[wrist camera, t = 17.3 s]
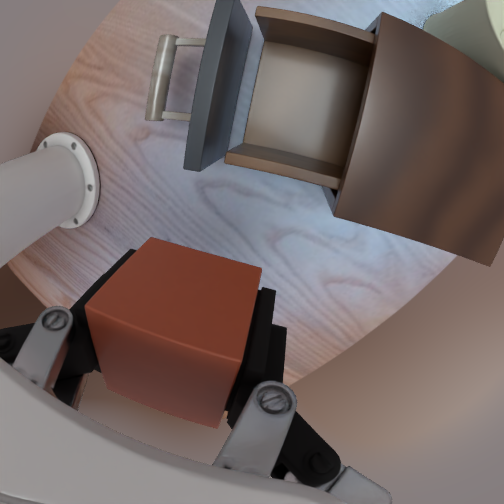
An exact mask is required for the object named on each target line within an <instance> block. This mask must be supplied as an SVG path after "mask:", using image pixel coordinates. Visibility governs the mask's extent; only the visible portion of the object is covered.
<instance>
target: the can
mask: <svg viewBox="0 0 504 504" xmlns="http://www.w3.org/2000/svg"><path fill="white" fill-rule="evenodd" d="M423 30H424V31H426V32H428V33H430V34H431V35H433V36H435V37H437V38H439V39H440V40H442V41H444V42H446V43H447V44H449V45H451V46H452V47H454V48H456V49H457V50H459V51H460V52H462V53H463V54H465V55H467V56H468V57H469V58H471V59H472V60H474V61H475V62H477V63H478V64H480V65H481V66H482V67H484V68H485V69H486V70H488V71H489V72H490V73H492V74H493V75H494V76H495V77H497V78H498V79H499V80H500V81H502V82H503V83H504V0H464V1H462V2H460V3H458V4H456V5H454V6H452V7H450V8H448V9H446V10H444V11H442V12H440V13H437V14H434V15H432V16H430V17H429V18H428V19H427V20H426V22H425V24H424V27H423Z"/></svg>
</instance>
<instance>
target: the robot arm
mask: <svg viewBox="0 0 504 504" xmlns="http://www.w3.org/2000/svg"><path fill="white" fill-rule="evenodd" d="M99 186H100V183H99V174H98V170H97V165H96V162H95V160H94V157H93V155H92V153H91V151H90V149H89V148H88V146H87V145H86V144H85V143H84V141H83V140H82V139H80V138H79V137H78V136H76V135H74V134H72V133H69V132H59V133H55V134H52V135H50V136H48V137H46V138H45V139H44V140H43V141H42V142H41V144H40V145H39V147H38V148H37V151H36V152H32V153H29V154H26V155H24V156H21V157H18V158H15V159H12V160H10V161H7V162H4V163H2V164H0V268H1V267H2V266H3V265H4V264H6V263H7V262H8V261H9V260H11V259H12V258H13V257H15V256H16V255H17V254H19V253H20V252H21V251H23V250H24V249H25V248H27V247H28V246H29V245H31V244H32V243H34V242H35V241H36V240H38V239H39V238H41V237H42V236H44V235H45V234H46V233H48V232H49V231H51V230H52V229H54V228H55V227H57V226H60V227H62V228H67V229H72V228H77V227H79V226H81V225H82V224H84V223H85V222H87V221H88V220H89V218H90V217H91V216H92V214H93V213H94V211H95V209H96V206H97V203H98V198H99ZM136 251H137V250H134V249H130V250H129V251H128V252H127V253H126V254H125V255H124V256H122V257H121V258H120V259H119V260H118V261H117V262H116V263H115V264H114V265H113V266H112V267H111V268H110V269H109V270H108V271H107V272H106V273H105V274H103V275H102V276H101V277H100V278H99V279H98V280H97V281H96V282H95V283H94V284H93V285H92V286H91V287H90V288H89V289H88V290H87V291H86V292H85V293H84V295H83V296H82V297H81V298H80V299H79V300H78V301H77V302H76V303H75V304H74V305H73V306H72V307H71V309H70V310H69V309H67V308H65V307H63V306H52V307H50V308H47V309H46V310H44V311H43V312H42V313H41V315H40V316H39V318H38V319H37V321H36V323H32V324H26V325H21V326H15V327H9V328H4V329H1V330H0V504H392V497H391V494H390V493H389V492H388V491H387V490H386V489H384V488H383V487H381V486H379V485H378V484H376V483H375V482H373V481H372V480H370V479H368V478H367V477H365V476H364V475H362V474H361V473H359V472H357V471H356V470H355V469H353V468H352V467H350V466H348V467H345V466H344V465H342V464H341V461H340V458H339V456H338V454H337V453H336V452H335V451H334V450H333V449H332V448H331V447H330V446H329V445H328V444H327V443H326V442H325V441H324V440H323V439H322V438H321V437H320V436H319V435H318V434H317V433H316V432H315V431H314V429H312V427H311V426H310V425H309V424H308V423H307V422H306V421H305V420H304V419H303V418H302V417H301V416H300V415H299V414H298V413H297V412H296V407H297V399H296V395H295V394H294V392H293V391H292V390H291V389H290V388H289V387H288V386H287V385H285V384H283V372H284V361H285V348H286V335H287V328H286V327H282V326H278V325H274V324H272V319H273V311H274V303H275V295H276V290H272V289H268V288H265V287H262V289H261V290H258V292H257V296H256V301H255V305H254V310H253V314H252V319H251V323H250V328H249V332H248V337H247V341H246V346H245V350H244V355H243V359H242V363H241V366H240V368H239V371H238V374H237V377H236V380H235V383H234V386H233V388H232V391H231V394H230V397H229V400H228V402H227V405H226V408H225V410H226V411H228V415H227V419H228V421H227V423H228V424H229V426H230V427H231V429H232V431H231V433H230V435H229V436H228V438H227V440H226V442H225V444H224V445H223V447H222V449H221V451H220V452H219V454H218V456H217V458H216V459H215V461H214V463H213V464H212V465H209V464H205V463H201V462H198V461H194V460H191V459H188V458H184V457H181V456H178V455H175V454H172V453H169V452H166V451H163V450H161V449H158V448H155V447H152V446H150V445H147V444H145V443H142V442H140V441H137V440H135V439H133V438H130V437H128V436H126V435H124V434H121V433H119V432H117V431H115V430H113V429H111V428H109V427H106V426H104V425H102V424H100V423H99V422H97V421H95V420H93V419H91V418H89V417H87V416H85V415H84V414H82V413H79V412H78V410H79V405H80V402H81V399H82V396H83V392H84V389H85V386H86V383H87V379H88V376H89V373H91V372H92V371H93V370H97V371H98V372H100V373H102V372H101V369H100V366H99V362H98V359H97V355H96V352H95V348H94V345H93V341H92V337H91V333H90V329H89V325H88V321H87V316H86V312H85V305H86V303H87V302H88V301H89V300H90V299H91V298H92V297H93V296H94V295H95V294H96V292H97V291H98V290H99V289H100V288H101V287H102V286H103V285H104V284H105V283H106V282H107V281H108V280H109V279H110V277H111V276H112V275H113V274H114V273H115V272H116V271H117V270H118V269H119V268H120V267H121V266H122V265H123V264H124V263H125V262H126V261H127V260H128V259H129V258H130V257H131V256H132V255H133V254H134V253H135V252H136ZM269 476H271V477H272V478H269Z"/></svg>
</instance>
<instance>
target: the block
mask: <svg viewBox="0 0 504 504" xmlns="http://www.w3.org/2000/svg"><path fill="white" fill-rule="evenodd" d="M261 273H262V268H260V267H257V266H253V265H249V264H246V263H242V262H238V261H235V260H231V259H227V258H224V257H220V256H217V255H213V254H210V253H206V252H202V251H199V250H195V249H192V248H188V247H185V246H181V245H178V244H174V243H171V242H167V241H164V240H160V239H157V238H153V237H150V238H149V239H148V240H147V241H146V242H145V243H144V244H143V245H142V246H141V247H140V248H139V249H138V250H137V251H136V252H135V253H134V254H133V255H132V256H131V257H130V258H129V259H128V260H127V261H126V262H125V263H124V264H123V265H122V266H121V267H120V268H119V269H118V270H117V271H116V272H115V273H114V274H113V275H112V276H111V277H110V279H109V280H108V281H107V282H106V283H105V284H104V285H103V286H102V287H101V288H100V289H99V290H98V291H97V292H96V294H95V295H94V296H93V297H92V298H91V299H90V300H89V301H88V302H87V303H86V305H85V312H86V316H87V321H88V325H89V329H90V333H91V337H92V341H93V345H94V348H95V352H96V355H97V359H98V362H99V366H100V369H101V372H102V375H103V378H104V381H105V384H106V387H107V388H108V389H109V390H111V391H113V392H115V393H117V394H120V395H122V396H124V397H126V398H129V399H131V400H133V401H136V402H138V403H141V404H143V405H146V406H148V407H151V408H154V409H156V410H159V411H161V412H164V413H167V414H170V415H173V416H176V417H179V418H182V419H185V420H188V421H192V422H195V423H198V424H202V425H205V426H209V427H213V428H218V427H219V424H220V422H221V419H222V416H223V414H224V411H225V408H226V405H227V402H228V400H229V397H230V394H231V391H232V388H233V386H234V383H235V380H236V377H237V374H238V371H239V368H240V366H241V363H242V359H243V355H244V350H245V346H246V341H247V337H248V332H249V328H250V323H251V319H252V314H253V310H254V305H255V301H256V296H257V292H258V287H259V282H260V278H261Z"/></svg>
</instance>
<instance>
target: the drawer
mask: <svg viewBox="0 0 504 504" xmlns="http://www.w3.org/2000/svg"><path fill="white" fill-rule="evenodd" d="M255 17H256V19H257V22H258V24H259V27H260V30H261V32H262V35H263V38H264V45H263V49H262V54H261V58H260V63H259V67H258V72H257V76H256V81H255V86H254V90H253V95H252V100H251V105H250V109H249V114H248V119H247V124H246V129H245V134H244V139H243V143H241V144H240V145H238V146H236V147H234V148H233V149H231V150H229V151H227V149H228V144H229V138H230V133H231V128H232V122H233V117H234V112H235V107H236V102H237V97H238V92H239V87H240V82H241V78H242V73H243V68H244V64H245V59H246V55H247V50H248V46H249V42H250V37H251V33H252V29H253V27H252V24H251V22H250V20H249V18H248V16H247V14H246V12H245V10H244V8H243V6H242V4H241V2H240V0H216V3H215V7H214V10H213V14H212V18H211V22H210V26H209V30H208V34H207V38H206V39H201V38H179V37H178V36H175V35H161V36H160V38H159V42H158V47H157V51H156V56H155V61H154V66H153V71H152V76H151V82H150V87H149V93H148V100H147V107H146V114H145V120H149V121H163V120H164V119H172V120H181V121H190V124H189V130H188V137H187V144H186V151H185V159H184V167H183V169H186V170H191V171H197V172H200V171H202V170H203V169H205V168H206V167H208V166H210V165H211V164H213V163H214V162H216V161H217V160H219V159H221V158H222V157H224V156H225V161H224V162H225V164H230V165H235V166H240V167H245V168H250V169H255V170H259V171H264V172H268V173H272V174H277V175H281V176H285V177H289V178H293V179H297V180H301V181H305V182H309V183H313V184H317V185H321V186H324V187H328V188H331V189H335V190H338V189H339V186H340V183H341V179H342V176H343V172H344V169H345V165H346V162H347V158H348V154H349V151H350V147H351V143H352V139H353V135H354V131H355V128H356V124H357V119H358V115H359V111H360V107H361V103H362V98H363V94H364V89H365V85H366V80H367V75H368V71H369V66H370V61H371V55H372V50H373V45H374V39H375V34H373V33H370V32H368V31H365V30H362V29H359V28H356V27H353V26H350V25H347V24H343V23H340V22H336V21H333V20H329V19H325V18H321V17H317V16H313V15H308V14H304V13H299V12H294V11H288V10H282V9H276V8H269V7H261V6H257V9H256V13H255ZM177 46H193V47H204V51H203V55H202V60H201V64H200V69H199V74H198V79H197V84H196V89H195V95H194V100H193V106H192V112H191V113H183V112H172V111H165V108H166V102H167V96H168V90H169V84H170V79H171V73H172V68H173V63H174V59H175V54H176V50H177Z"/></svg>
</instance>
